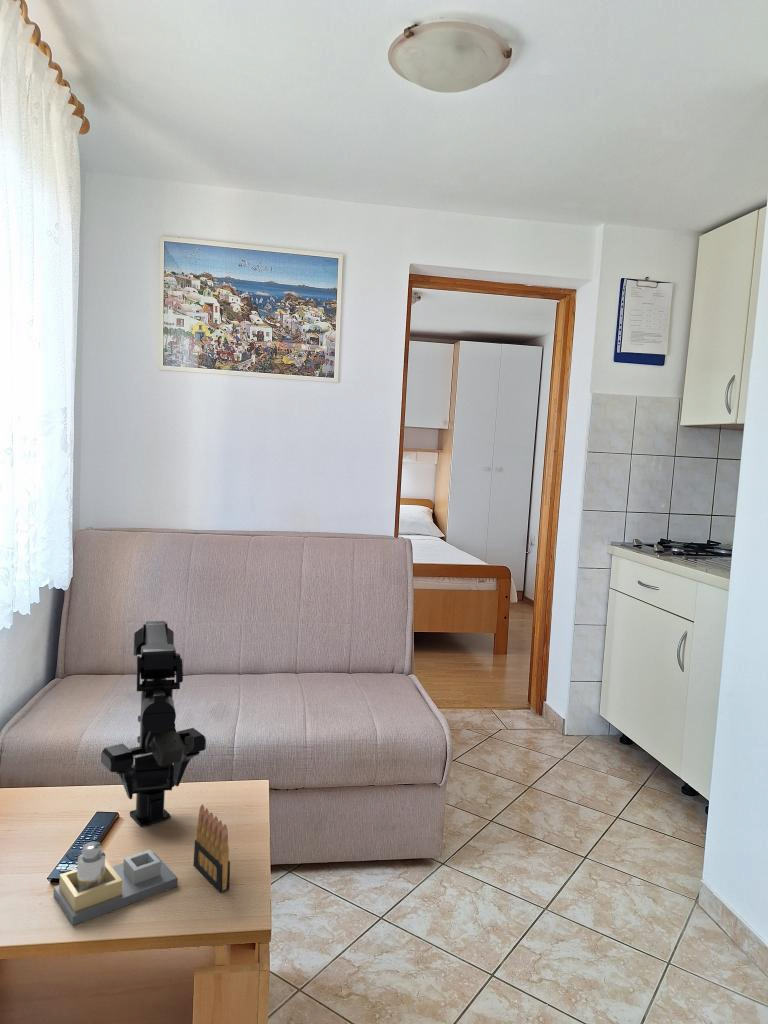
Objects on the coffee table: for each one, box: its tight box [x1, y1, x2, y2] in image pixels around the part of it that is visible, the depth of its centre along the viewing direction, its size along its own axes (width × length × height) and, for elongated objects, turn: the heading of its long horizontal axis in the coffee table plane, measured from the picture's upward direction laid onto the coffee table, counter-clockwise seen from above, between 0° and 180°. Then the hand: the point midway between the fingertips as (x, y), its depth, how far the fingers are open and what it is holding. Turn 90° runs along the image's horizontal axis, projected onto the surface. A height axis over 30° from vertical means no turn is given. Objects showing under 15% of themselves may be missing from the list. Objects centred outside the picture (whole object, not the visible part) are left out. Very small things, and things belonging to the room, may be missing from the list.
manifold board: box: [53, 849, 179, 926], centre depth 123 cm, size 10×18×4 cm, turn 131°
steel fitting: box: [76, 841, 107, 893], centre depth 120 cm, size 4×4×8 cm
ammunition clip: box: [192, 804, 231, 894], centre depth 128 cm, size 11×2×12 cm, turn 41°
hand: (153, 791), depth 135 cm, fingers open, 9 cm apart
